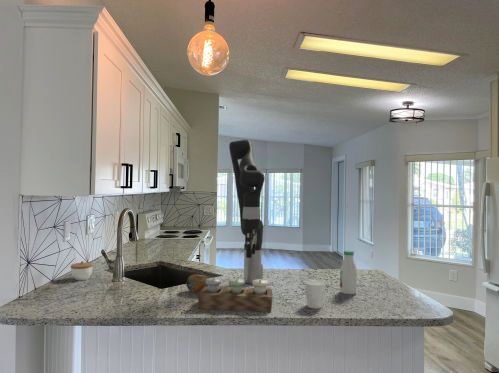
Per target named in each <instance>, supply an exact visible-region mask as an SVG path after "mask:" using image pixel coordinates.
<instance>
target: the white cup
mask: <svg viewBox="0 0 499 373" xmlns="http://www.w3.org/2000/svg"><path fill="white" fill-rule="evenodd" d="M325 284H326V283H325V282H324V281H323V280H322V281H321V280H315V279H314V280H307V281H305V296H306V306H307V307H308V308H310V309H314V310H315V309H316V310H318V309H322V308H323V307H324V300H325V299H324V298H325Z"/></svg>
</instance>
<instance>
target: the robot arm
mask: <svg viewBox="0 0 499 373" xmlns="http://www.w3.org/2000/svg"><path fill="white" fill-rule="evenodd" d="M228 147H229V155H230V158H231V164H232V168H233V174H234V181H235V189H236V190H235V191H236V195H237V201H238V207H239V218H240V230H241V233H242V235H244V245H243V280H244V284H251V285H252V281H253V280H258V279H261V280H264V279H263V278H264V275H263V274H264V273H263V272H264V267H263V266H264V263H262V250H263V248H262V246H263V238H264V237H263V235H264V223H263V221H262V219H261V195H262V189H263V186H264V183H265V175H264V172H263V171H261V170H258V168H257V165H256V163H255V158H254V157H255V156H254V149H253V146H252V143H251V141H250V140H248V139H241V140H234V141H231V142H230V143H229V146H228ZM239 160H240V162H239Z"/></svg>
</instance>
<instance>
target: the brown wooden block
mask: <svg viewBox="0 0 499 373" xmlns="http://www.w3.org/2000/svg"><path fill="white" fill-rule="evenodd" d="M197 294H198V296H197V297H198V300H197V301H198V304H197V305H198V306H197V307H198V309H199V310H213V311H214V310H217V311H220V310H221V311H241V312H259V313H260V312H264V313H267V312H268V313H272V306H273V288H266V294H265V295H260V294H254V287H242V294H234V293H231V286H219V293H208V286H205V287H204V288H203V289H202V290H201V292H200V293H197Z"/></svg>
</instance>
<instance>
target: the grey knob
mask: <svg viewBox="0 0 499 373" xmlns="http://www.w3.org/2000/svg"><path fill="white" fill-rule="evenodd" d="M206 284H207V285H208V293H219V287H220V285H221V284H222V279H221V278H219V277H212V278H208V279H206Z"/></svg>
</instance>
